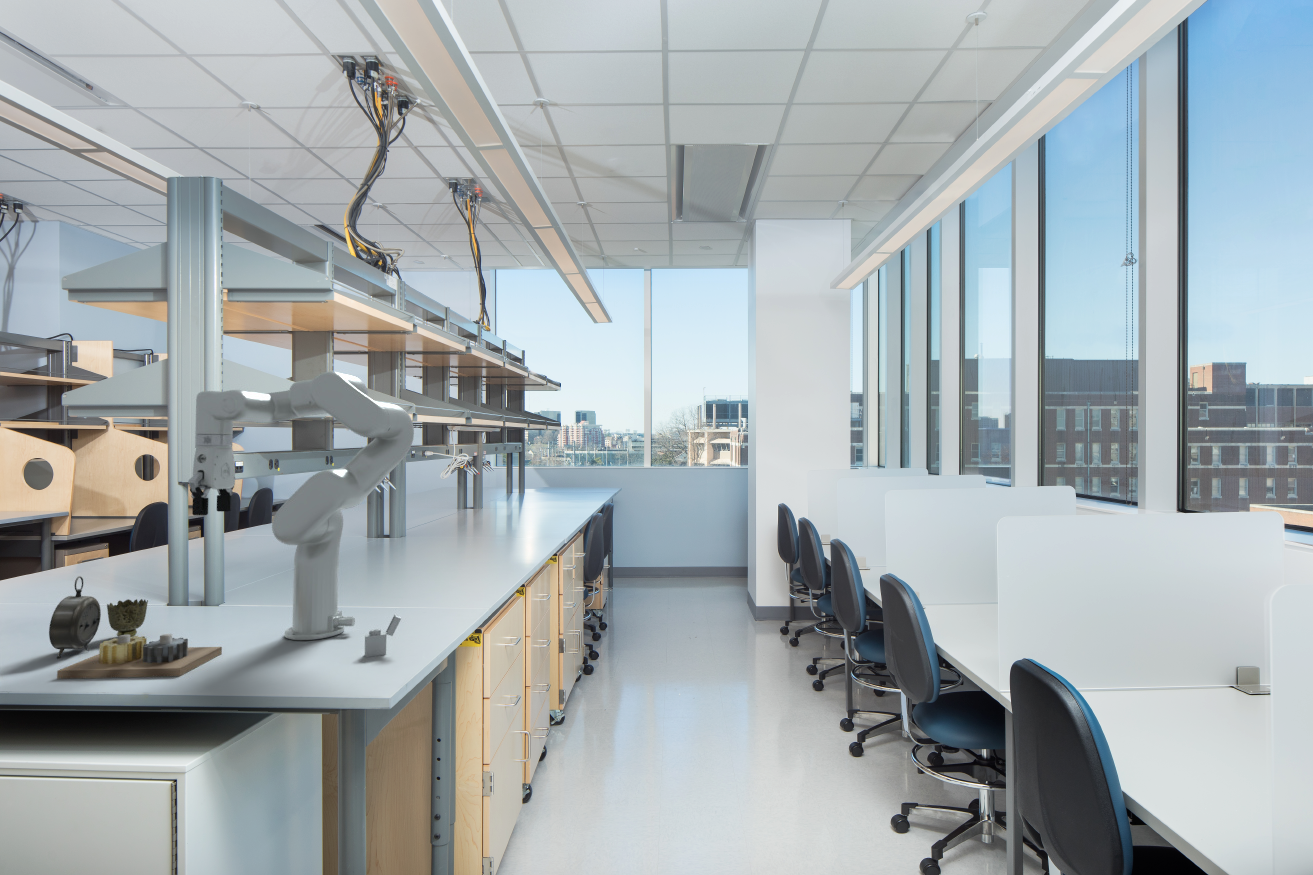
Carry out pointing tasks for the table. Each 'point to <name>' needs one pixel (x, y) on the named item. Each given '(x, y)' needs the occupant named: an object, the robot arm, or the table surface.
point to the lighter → (379, 639)
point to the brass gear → (121, 650)
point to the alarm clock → (74, 621)
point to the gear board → (146, 661)
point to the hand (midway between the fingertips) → (212, 513)
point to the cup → (127, 616)
